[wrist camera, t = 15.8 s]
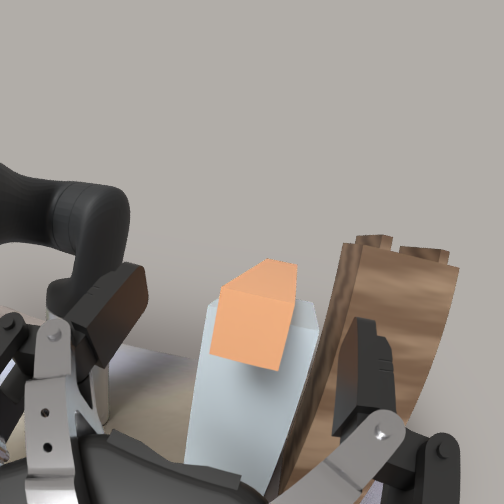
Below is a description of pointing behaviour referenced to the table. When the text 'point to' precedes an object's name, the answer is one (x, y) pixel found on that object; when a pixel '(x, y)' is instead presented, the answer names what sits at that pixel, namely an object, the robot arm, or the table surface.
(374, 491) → the table surface
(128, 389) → the table surface
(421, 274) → the tall post
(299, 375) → the short post
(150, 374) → the table surface
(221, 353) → the beam
